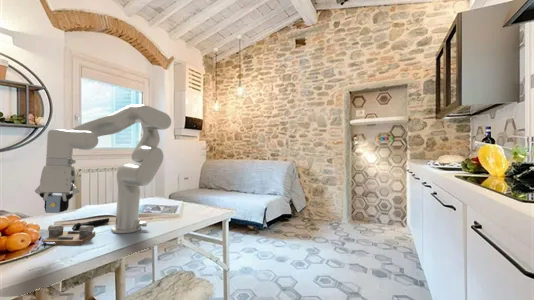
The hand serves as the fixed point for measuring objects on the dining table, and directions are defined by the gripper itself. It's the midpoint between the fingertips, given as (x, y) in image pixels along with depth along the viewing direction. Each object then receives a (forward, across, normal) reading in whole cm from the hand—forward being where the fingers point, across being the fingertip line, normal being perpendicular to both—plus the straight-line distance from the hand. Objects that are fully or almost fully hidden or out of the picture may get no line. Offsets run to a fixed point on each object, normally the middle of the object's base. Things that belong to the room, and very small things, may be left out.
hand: (56, 210), depth 96 cm
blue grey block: (0, 0, 0) cm, 0 cm away
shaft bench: (+15, 0, -11) cm, 18 cm away
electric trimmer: (+16, 0, -28) cm, 32 cm away
